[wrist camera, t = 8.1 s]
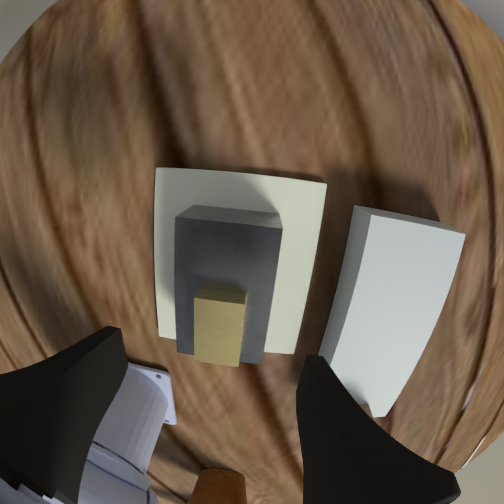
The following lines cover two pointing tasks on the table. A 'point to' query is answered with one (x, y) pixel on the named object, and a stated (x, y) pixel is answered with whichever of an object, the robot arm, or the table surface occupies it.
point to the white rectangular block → (387, 302)
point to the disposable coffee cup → (219, 487)
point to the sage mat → (247, 198)
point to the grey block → (224, 282)
